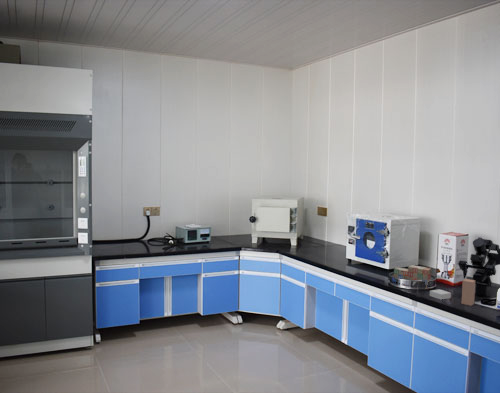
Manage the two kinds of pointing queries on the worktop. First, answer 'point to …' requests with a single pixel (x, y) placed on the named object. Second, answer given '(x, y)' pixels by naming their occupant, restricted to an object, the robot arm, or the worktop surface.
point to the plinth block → (440, 294)
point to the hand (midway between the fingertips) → (472, 279)
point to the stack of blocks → (414, 273)
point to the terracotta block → (468, 292)
